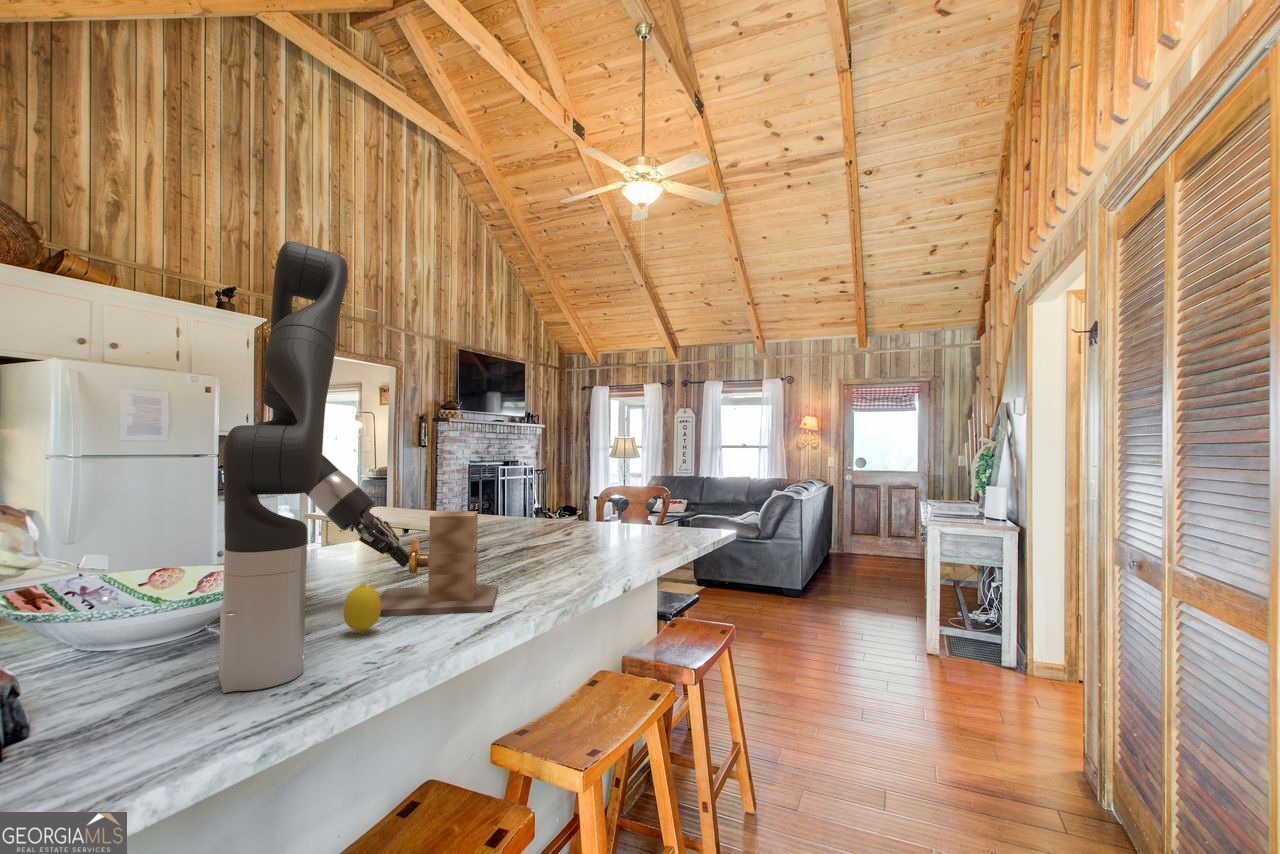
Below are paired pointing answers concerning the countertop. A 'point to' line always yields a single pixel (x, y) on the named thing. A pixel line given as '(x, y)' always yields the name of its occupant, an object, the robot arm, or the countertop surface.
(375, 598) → the lemon
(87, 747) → the countertop surface
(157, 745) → the countertop surface
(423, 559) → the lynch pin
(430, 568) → the hitch post
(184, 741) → the countertop surface
